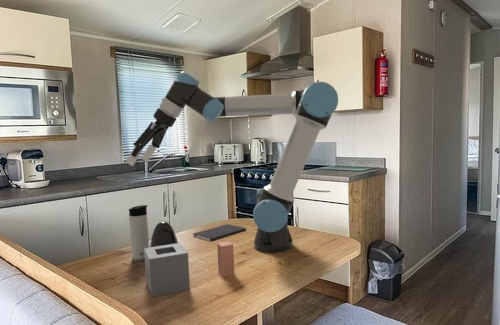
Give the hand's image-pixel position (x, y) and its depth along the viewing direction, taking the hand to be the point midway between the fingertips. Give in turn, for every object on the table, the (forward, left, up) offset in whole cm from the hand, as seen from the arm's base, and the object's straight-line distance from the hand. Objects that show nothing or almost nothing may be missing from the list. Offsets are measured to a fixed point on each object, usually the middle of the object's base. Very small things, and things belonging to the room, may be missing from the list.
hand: (137, 162), depth 136 cm
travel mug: (+1, 0, -36) cm, 36 cm away
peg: (-22, +29, -36) cm, 51 cm away
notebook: (-36, -18, -37) cm, 54 cm away
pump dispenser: (-6, +10, -36) cm, 38 cm away
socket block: (-3, +30, -36) cm, 47 cm away
